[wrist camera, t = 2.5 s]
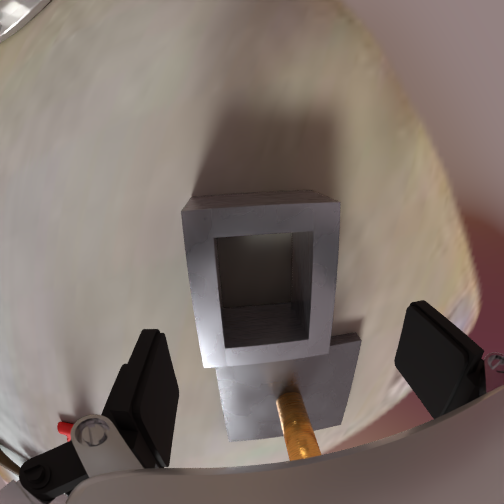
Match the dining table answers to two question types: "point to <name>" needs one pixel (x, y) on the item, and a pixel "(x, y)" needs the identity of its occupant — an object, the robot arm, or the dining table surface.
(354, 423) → the dining table surface
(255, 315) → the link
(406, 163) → the dining table surface
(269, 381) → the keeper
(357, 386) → the dining table surface
